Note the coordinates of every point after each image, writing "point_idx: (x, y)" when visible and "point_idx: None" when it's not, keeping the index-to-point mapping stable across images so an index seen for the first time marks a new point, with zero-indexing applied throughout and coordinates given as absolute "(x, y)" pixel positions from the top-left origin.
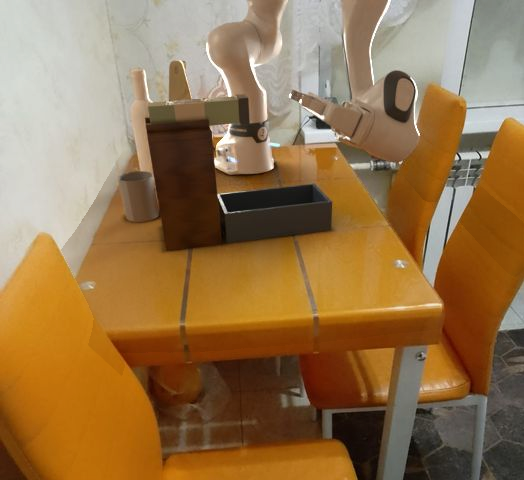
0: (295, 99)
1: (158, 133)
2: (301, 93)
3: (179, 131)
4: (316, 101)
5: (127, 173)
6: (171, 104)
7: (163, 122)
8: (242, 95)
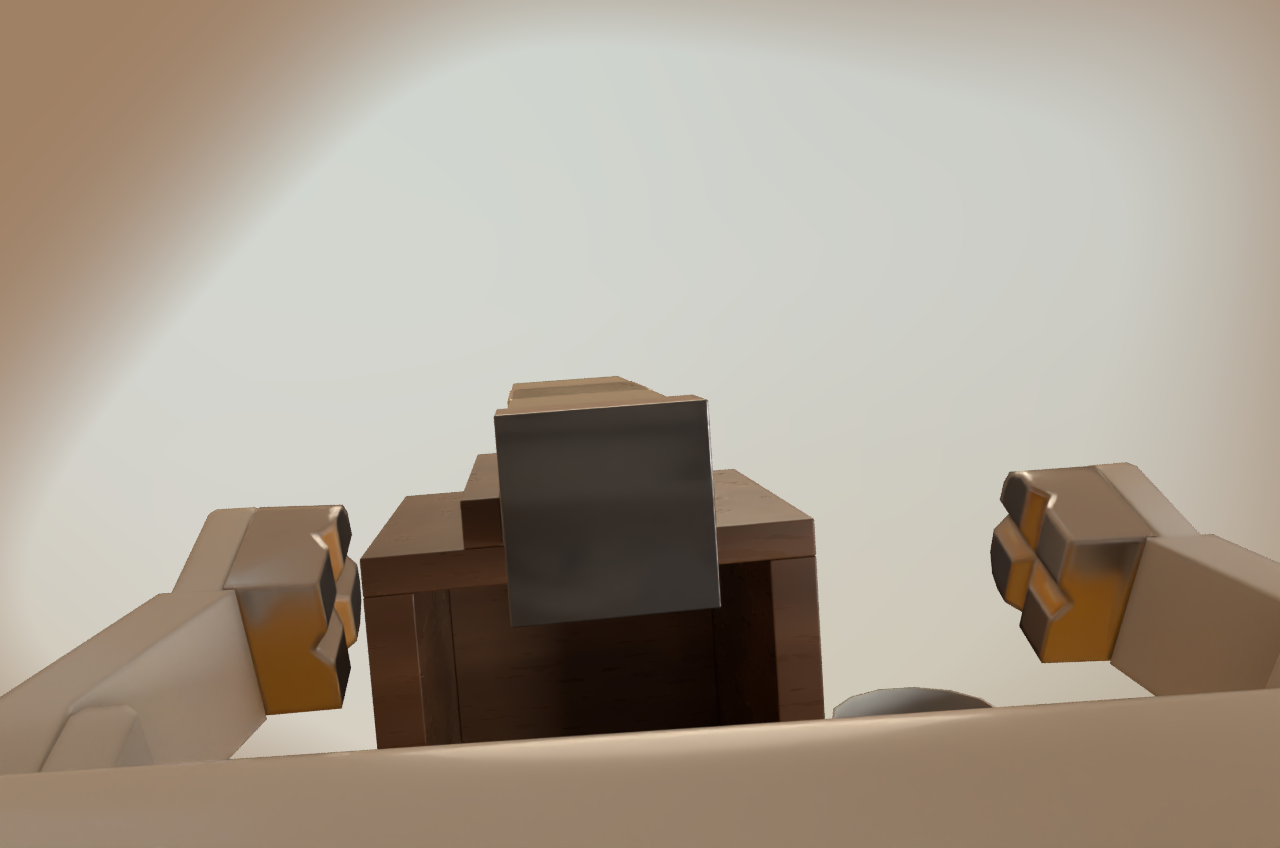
0: (1030, 621)
1: (446, 500)
2: (1194, 568)
3: (444, 517)
4: (75, 659)
5: (966, 697)
6: (520, 388)
7: (496, 463)
8: (634, 403)
